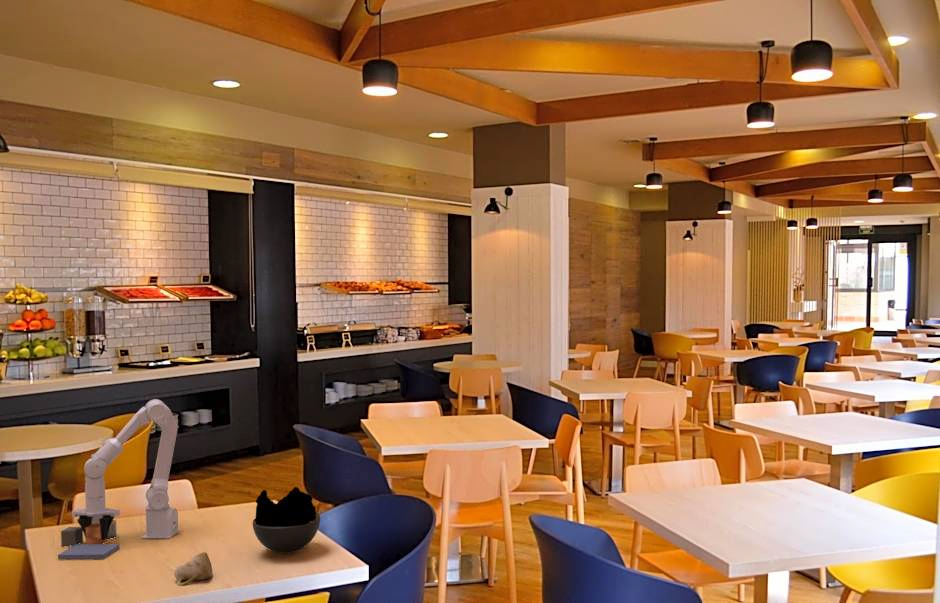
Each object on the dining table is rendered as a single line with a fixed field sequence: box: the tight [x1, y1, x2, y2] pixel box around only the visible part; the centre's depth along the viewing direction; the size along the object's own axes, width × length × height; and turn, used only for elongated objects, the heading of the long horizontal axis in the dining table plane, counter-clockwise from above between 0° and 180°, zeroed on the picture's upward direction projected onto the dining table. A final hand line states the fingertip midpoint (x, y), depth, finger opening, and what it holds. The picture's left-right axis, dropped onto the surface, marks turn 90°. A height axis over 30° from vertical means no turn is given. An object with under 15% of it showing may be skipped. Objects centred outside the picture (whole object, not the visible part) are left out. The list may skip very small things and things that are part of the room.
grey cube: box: [99, 519, 117, 540], centre depth 266 cm, size 5×5×5 cm
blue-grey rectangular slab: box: [57, 543, 121, 560], centre depth 249 cm, size 14×10×2 cm
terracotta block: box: [85, 524, 108, 544], centre depth 259 cm, size 4×4×6 cm
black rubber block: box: [60, 526, 84, 547], centre depth 260 cm, size 4×4×5 cm
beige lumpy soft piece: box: [173, 551, 214, 587], centre depth 224 cm, size 8×10×10 cm
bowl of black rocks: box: [252, 486, 321, 554], centre depth 247 cm, size 20×20×19 cm
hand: (96, 539), depth 259 cm, fingers open, 5 cm apart
